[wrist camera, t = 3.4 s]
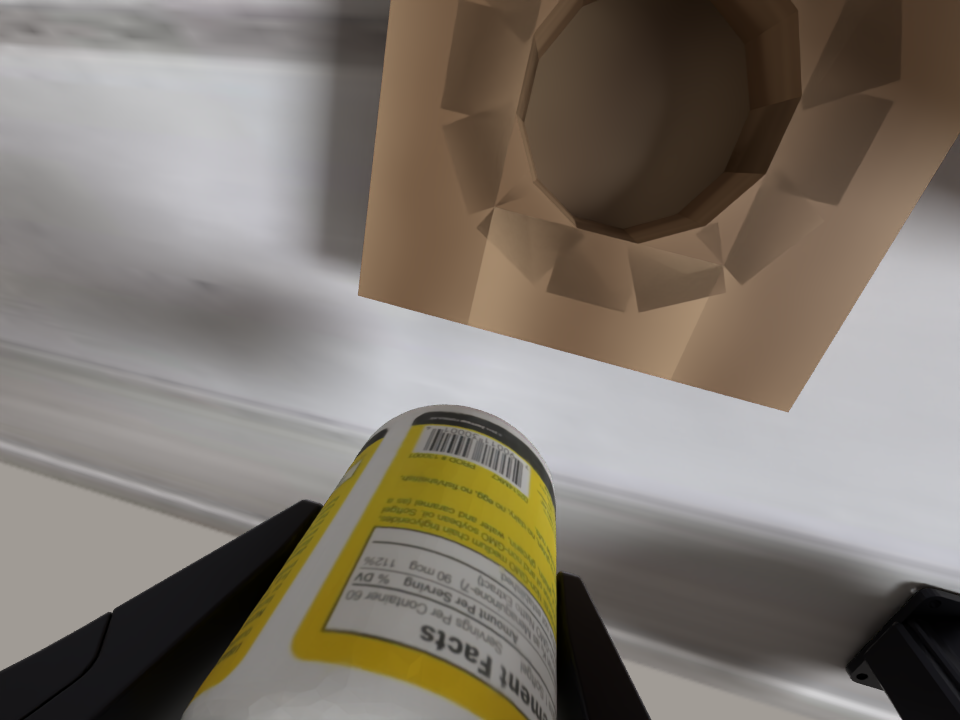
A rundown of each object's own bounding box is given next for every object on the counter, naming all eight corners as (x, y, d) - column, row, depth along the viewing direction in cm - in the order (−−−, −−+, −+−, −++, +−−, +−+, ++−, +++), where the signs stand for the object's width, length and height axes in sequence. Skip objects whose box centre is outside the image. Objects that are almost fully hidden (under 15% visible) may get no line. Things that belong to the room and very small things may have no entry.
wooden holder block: (993, -117, 12) (1191, -245, 8) (740, 360, 18) (788, 412, 14) (470, -225, 12) (433, -388, 9) (397, 269, 18) (357, 295, 15)
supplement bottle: (411, 571, 12) (172, 1237, 5) (329, 428, 11) (-225, 1065, 3) (583, 541, 11) (644, 1415, 3) (516, 372, 9) (336, 1258, 2)
